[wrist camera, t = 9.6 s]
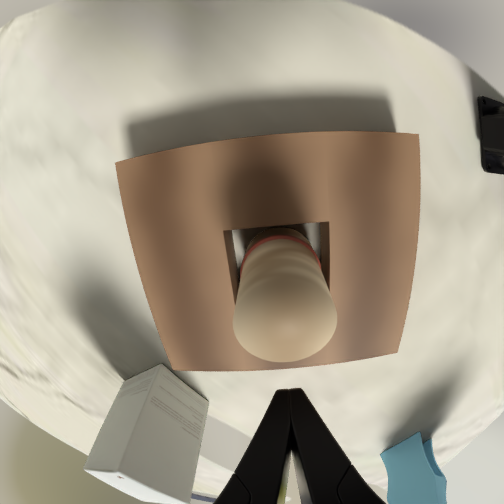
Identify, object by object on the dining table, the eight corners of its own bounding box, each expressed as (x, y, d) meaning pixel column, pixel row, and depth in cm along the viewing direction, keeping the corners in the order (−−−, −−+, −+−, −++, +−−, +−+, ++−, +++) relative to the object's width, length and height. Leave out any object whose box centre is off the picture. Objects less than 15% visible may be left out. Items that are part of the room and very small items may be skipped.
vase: (377, 454, 31) (395, 552, 12) (418, 431, 28) (449, 531, 10) (394, 460, 32) (413, 544, 14) (431, 439, 30) (458, 524, 12)
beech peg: (312, 218, 18) (342, 272, 10) (313, 282, 20) (335, 358, 12) (240, 224, 18) (222, 281, 11) (248, 287, 20) (238, 365, 13)
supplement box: (122, 380, 25) (79, 468, 14) (162, 360, 24) (117, 472, 12) (168, 416, 27) (141, 502, 16) (212, 403, 26) (192, 506, 14)
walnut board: (397, 134, 15) (418, 134, 12) (385, 330, 21) (397, 352, 18) (136, 159, 17) (115, 162, 14) (182, 346, 23) (173, 370, 20)
